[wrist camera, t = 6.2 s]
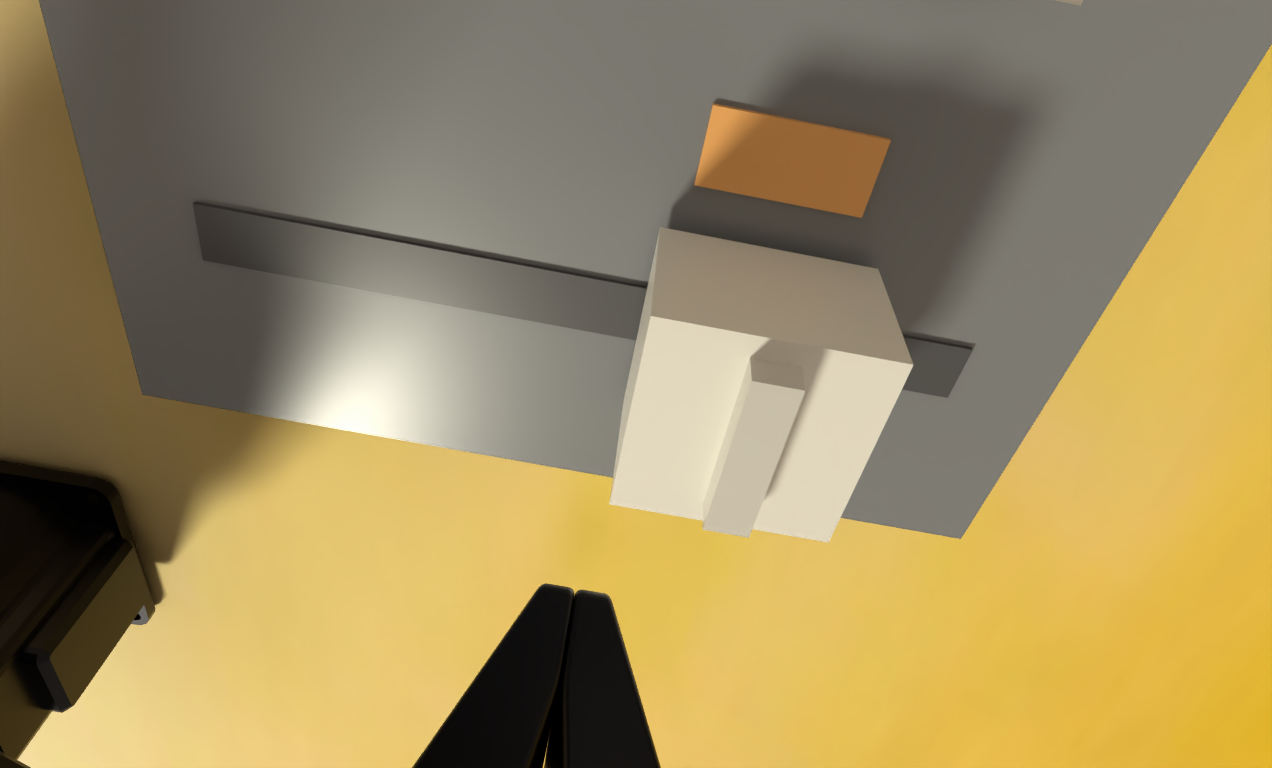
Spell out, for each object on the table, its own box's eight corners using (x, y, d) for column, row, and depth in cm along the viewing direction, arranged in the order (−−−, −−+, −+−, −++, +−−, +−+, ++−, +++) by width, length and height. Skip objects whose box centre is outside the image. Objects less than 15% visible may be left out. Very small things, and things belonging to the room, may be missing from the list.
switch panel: (199, 333, 20) (139, 397, 18) (-57, -985, 9) (-291, -1222, 7) (935, 466, 20) (962, 542, 18) (1517, -583, 10) (1737, -687, 8)
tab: (623, 400, 16) (606, 529, 13) (660, 227, 14) (648, 338, 11) (810, 434, 17) (833, 568, 14) (878, 268, 14) (922, 388, 11)
